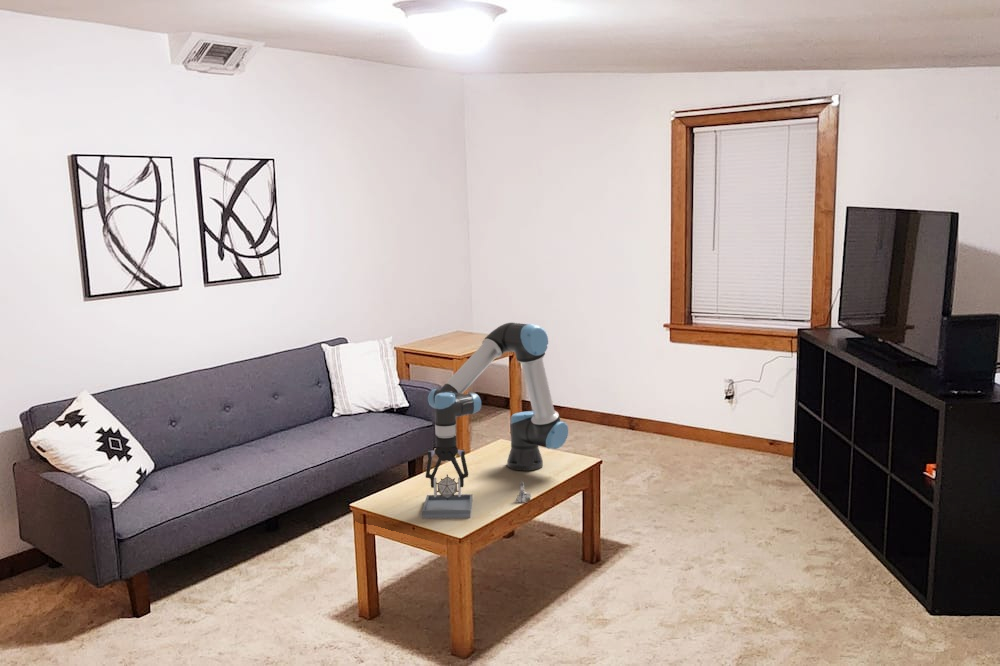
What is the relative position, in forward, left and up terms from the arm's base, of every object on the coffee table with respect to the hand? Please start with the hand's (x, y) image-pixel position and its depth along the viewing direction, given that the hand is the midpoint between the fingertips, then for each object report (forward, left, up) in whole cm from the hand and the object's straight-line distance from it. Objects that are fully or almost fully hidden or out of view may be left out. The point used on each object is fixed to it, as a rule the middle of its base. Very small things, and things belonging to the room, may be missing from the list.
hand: (447, 495), depth 304 cm
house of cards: (-30, -8, -6) cm, 31 cm away
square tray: (0, 0, -5) cm, 5 cm away
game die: (0, 0, -2) cm, 2 cm away
